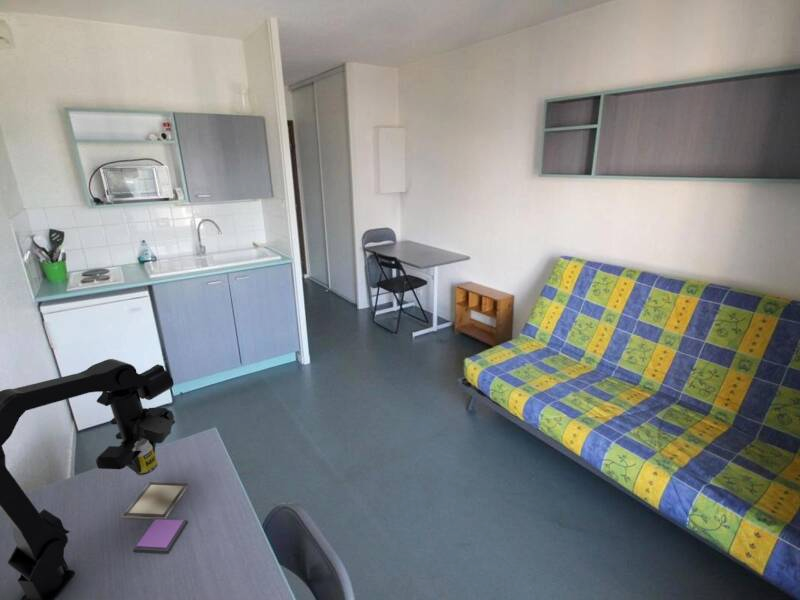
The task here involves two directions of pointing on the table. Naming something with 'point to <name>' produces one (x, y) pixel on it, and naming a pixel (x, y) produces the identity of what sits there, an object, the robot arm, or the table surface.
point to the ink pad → (160, 536)
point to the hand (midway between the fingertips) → (145, 464)
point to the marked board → (156, 500)
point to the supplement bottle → (146, 457)
